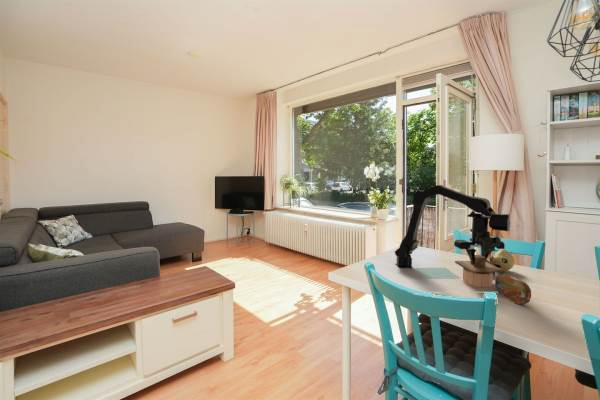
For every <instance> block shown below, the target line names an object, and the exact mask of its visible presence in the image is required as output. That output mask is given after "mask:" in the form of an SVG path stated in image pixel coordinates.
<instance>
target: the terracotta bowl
mask: <svg viewBox="0 0 600 400" xmlns="http://www.w3.org/2000/svg"><path fill="white" fill-rule="evenodd" d="M493 276H494V273H493V272H470V271H468V270H466V269H465V268H463V267H462V281H463V283H465V284H466V285H468V286H473V287H478V288H490V287H492V285H493V280H494V279H493Z"/></svg>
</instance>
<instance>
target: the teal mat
mask: <svg viewBox="0 0 600 400" xmlns="http://www.w3.org/2000/svg"><path fill="white" fill-rule="evenodd" d="M415 269H416V270H417V272H419V273H420V274H421V275H422V276H423V277H424V278H426V279H427V280H438V279H439V280H441V279H442V280H443V279H444V280H446V279H447V280H449V279H450V280H451V279H453V280H454V279H455V280H457V279H462V278H461V277H460V276H458V275H457V274H456V273H454V272H452V271H451V270H449V269H448V268H447V267H415Z"/></svg>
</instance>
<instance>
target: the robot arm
mask: <svg viewBox="0 0 600 400" xmlns="http://www.w3.org/2000/svg"><path fill="white" fill-rule="evenodd" d="M438 195H440V196H443V197H445V198H448V199H451V200H452V201H455V202H458V203H460V204H463V205H465V206H466V207H467V208H468V209H470V210H471V212H470V213H468V214H467V217H468V218H472V227H471V228H470V229H469V230H470V231H469V232H470V233H471V237H470V239H469V241H468V240H465V239H455V241H453V247H456V248H458V249H460V250H465V251H466V253H467V256H468V257H469V261H471V263H472V264H474V261H475V255H476V252H477V249H475V247H480V255H481V256H484V257H486V259H487V260H488V257H490V256H489V255H490V254H491V253H493V252H495V251H496V249H498V250H501V249H505V248H506V244H505V242H504V241H502V240H501V238H500V237H499V236H491V234H490V231H489V230H488V229H489V228H490V229H491V230H492V231H493V230H494V231H500V232H501V231H502V232H509V231H510V229H511V228H510V227H511V220H510V219H511V218H510V214H509V213H508V214H507V213H505V214H504V213H503V214H501V213H496V212H495V211H494V209H493V208H492V206H491V202H490V200H489V199H487V198H483V197H479V196H473V195H468V194H465V193H462V192H461V191H456V190H454V189H452V188H450V187H447V186H444V185H442V184H437V185H434V186H432V187H430V188H428V189H422V190H417V191H415V192H414V193H413V195H412V206H413V209H412V212H411V216H410V219H409V223H408V228H407V231H406V235H404V237H403V239H402V240H401V243H400V245H399V247H398V248H397V249H396V250H395V251H394V255H395V256H396V263H395V266H397V267H398V268H399V269H412V268H413V267H412V265H413V258H412V255H411V254H413V252H415V250H416V249H418V245H419V242H420V240H418V239H417V234H418V230H419V226H420V223H421V220H422V216H423V212H424V210H425V209H426V206H427V205H428V204H429V202H430V199H431V198H433V197H436V196H438ZM505 250H506V249H505Z"/></svg>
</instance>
